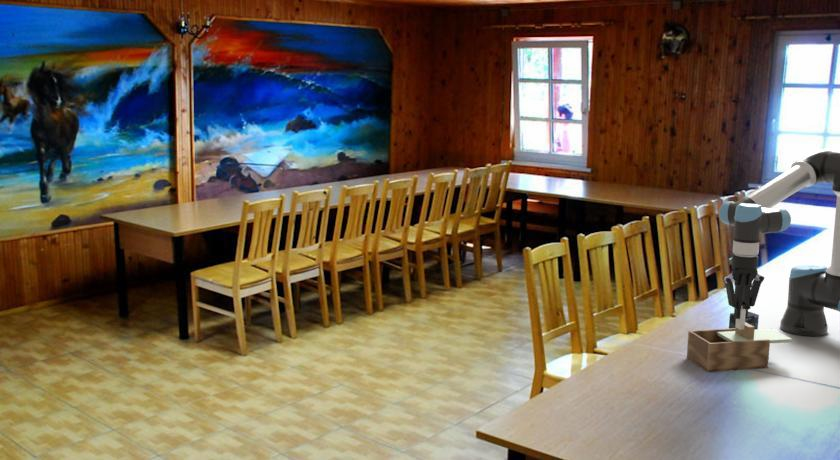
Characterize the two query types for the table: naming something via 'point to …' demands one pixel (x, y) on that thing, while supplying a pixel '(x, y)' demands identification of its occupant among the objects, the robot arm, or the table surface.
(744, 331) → the lid
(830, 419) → the table surface
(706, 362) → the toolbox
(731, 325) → the box
